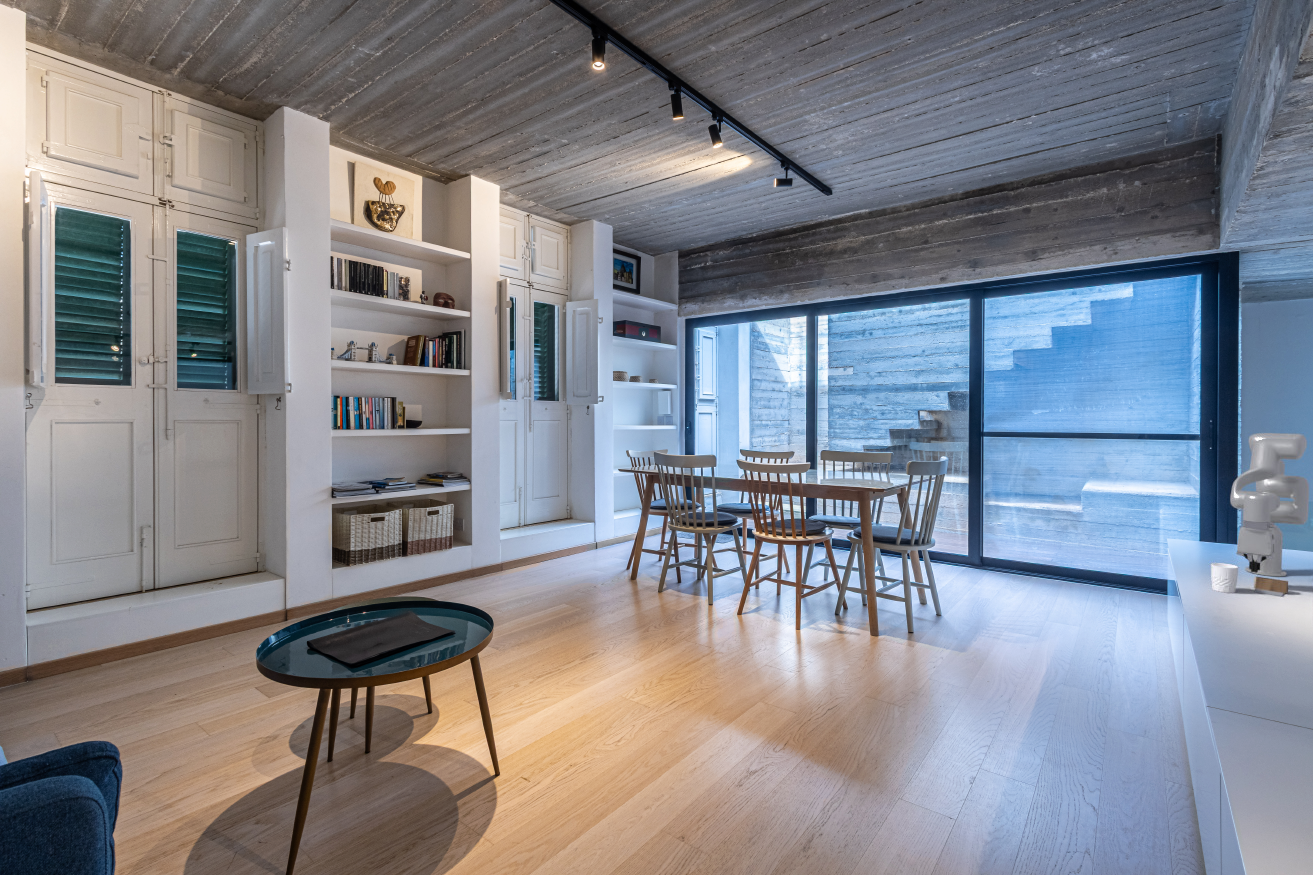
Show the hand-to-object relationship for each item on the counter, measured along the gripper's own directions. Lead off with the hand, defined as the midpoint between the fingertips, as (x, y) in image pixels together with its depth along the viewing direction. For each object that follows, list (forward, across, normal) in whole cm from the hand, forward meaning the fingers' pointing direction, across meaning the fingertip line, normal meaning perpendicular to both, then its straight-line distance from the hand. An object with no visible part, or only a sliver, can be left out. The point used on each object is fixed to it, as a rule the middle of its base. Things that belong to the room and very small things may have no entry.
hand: (1254, 571), depth 244 cm
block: (+4, 0, 0) cm, 4 cm away
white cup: (+7, +7, +13) cm, 16 cm away
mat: (+7, -5, 0) cm, 8 cm away
